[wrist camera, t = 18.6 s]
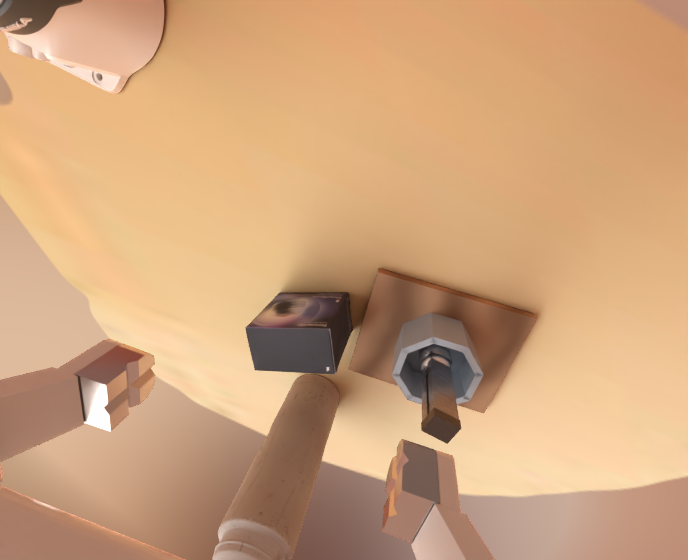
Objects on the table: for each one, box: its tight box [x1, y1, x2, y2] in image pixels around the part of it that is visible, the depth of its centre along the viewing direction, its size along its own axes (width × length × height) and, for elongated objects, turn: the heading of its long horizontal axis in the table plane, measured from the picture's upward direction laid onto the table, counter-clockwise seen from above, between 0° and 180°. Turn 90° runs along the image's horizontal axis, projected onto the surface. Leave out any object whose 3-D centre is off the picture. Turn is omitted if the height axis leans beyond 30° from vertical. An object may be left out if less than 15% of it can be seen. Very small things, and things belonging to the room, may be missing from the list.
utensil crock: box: [392, 312, 484, 404], centre depth 41 cm, size 10×10×6 cm
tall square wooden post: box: [419, 344, 461, 444], centre depth 37 cm, size 4×4×13 cm
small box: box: [246, 293, 353, 374], centre depth 43 cm, size 11×6×10 cm, turn 96°
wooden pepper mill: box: [212, 374, 339, 560], centre depth 40 cm, size 8×8×28 cm
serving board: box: [349, 268, 536, 413], centre depth 45 cm, size 20×16×2 cm
